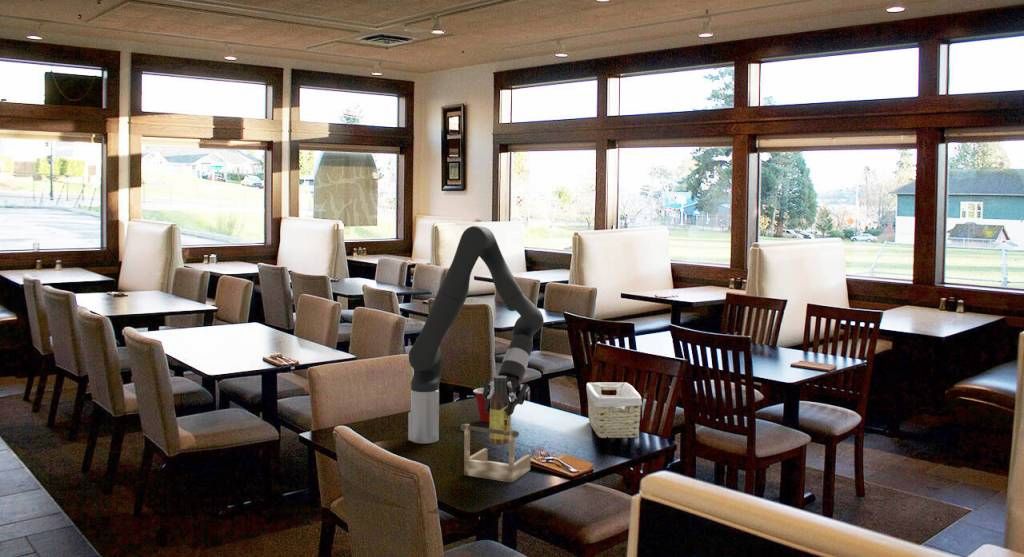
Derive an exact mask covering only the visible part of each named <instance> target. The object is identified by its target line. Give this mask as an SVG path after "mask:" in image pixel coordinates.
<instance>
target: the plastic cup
mask: <svg viewBox="0 0 1024 557" xmlns="http://www.w3.org/2000/svg"><path fill="white" fill-rule="evenodd" d="M493 389H494V386H493V388H492V389H491V391H490V393H491V392H492V390H493ZM483 390H484V387H479V388H475V389H473V391H472V392H473V393H474V395H475V399H476V405H477V410H478V414H479V415H478V416H479V420H480V421H479V422H481V421H482V422H481V423H483V422H490V413H489V414H488V413H486V411H485V409H484V407H485V404H486V401H485V399H484V397H483V396H482V394H483Z"/></svg>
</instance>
